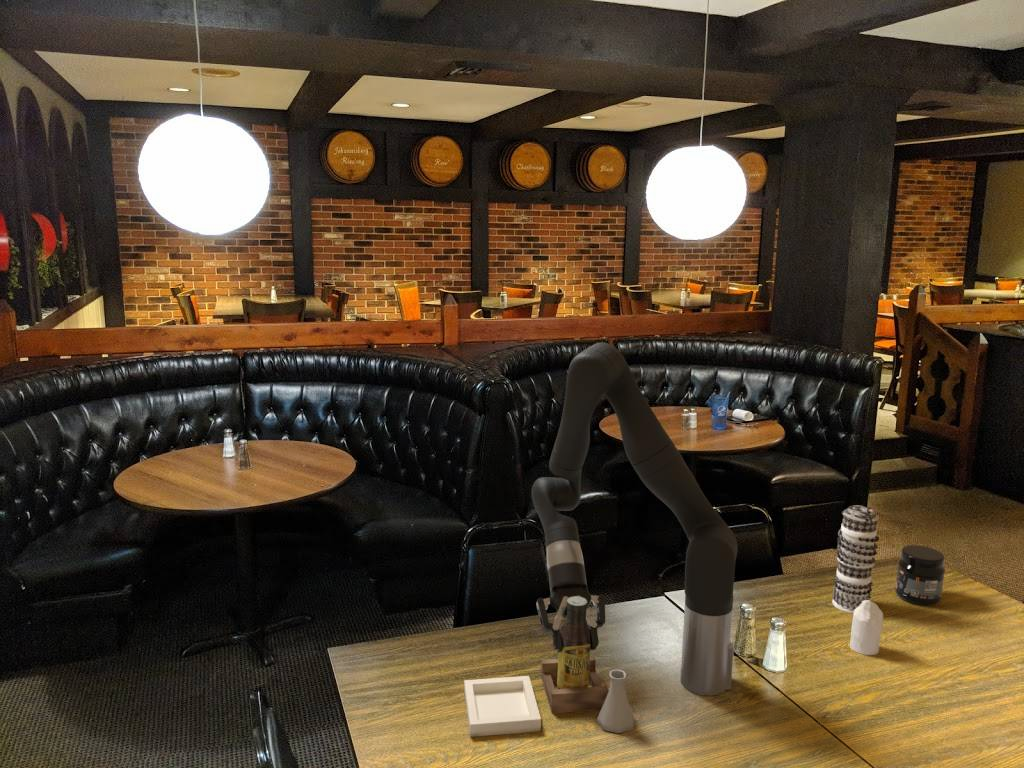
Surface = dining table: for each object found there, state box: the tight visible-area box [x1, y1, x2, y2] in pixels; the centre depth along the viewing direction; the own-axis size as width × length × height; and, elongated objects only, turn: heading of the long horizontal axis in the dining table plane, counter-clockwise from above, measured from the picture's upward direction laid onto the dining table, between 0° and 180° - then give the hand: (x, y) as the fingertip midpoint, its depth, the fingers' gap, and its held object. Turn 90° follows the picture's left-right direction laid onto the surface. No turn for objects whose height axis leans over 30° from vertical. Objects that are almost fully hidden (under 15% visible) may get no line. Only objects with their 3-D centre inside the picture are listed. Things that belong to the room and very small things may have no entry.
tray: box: [463, 675, 542, 738], centre depth 152 cm, size 13×14×2 cm
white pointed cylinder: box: [849, 599, 884, 656], centre depth 173 cm, size 6×12×6 cm
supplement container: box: [894, 544, 946, 607], centre depth 197 cm, size 10×10×12 cm
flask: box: [596, 669, 636, 734], centre depth 148 cm, size 7×7×10 cm
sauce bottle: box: [556, 596, 591, 689], centre depth 156 cm, size 6×6×20 cm
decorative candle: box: [832, 504, 880, 615], centre depth 191 cm, size 9×9×25 cm
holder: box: [540, 655, 609, 714], centre depth 157 cm, size 11×12×4 cm
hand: (576, 650), depth 154 cm, fingers closed on sauce bottle, 6 cm apart
